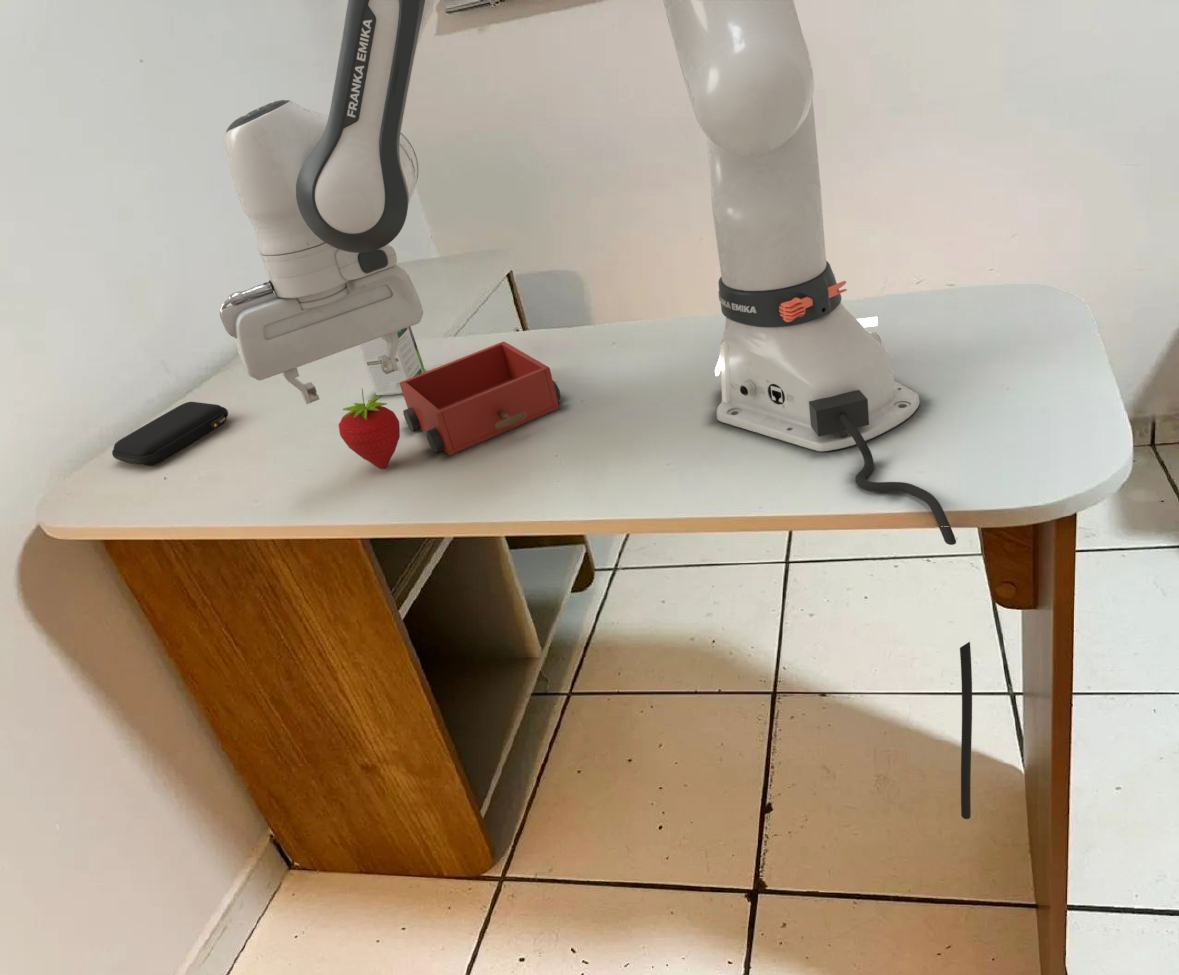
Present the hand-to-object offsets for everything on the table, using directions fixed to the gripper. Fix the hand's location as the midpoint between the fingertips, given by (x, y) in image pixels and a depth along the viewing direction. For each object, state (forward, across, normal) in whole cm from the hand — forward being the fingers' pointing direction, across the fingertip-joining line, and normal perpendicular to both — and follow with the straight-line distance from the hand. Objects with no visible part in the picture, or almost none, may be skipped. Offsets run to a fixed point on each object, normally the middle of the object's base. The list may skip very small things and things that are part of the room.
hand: (351, 385), depth 106 cm
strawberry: (+11, 0, 0) cm, 11 cm away
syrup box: (+11, +10, +22) cm, 26 cm away
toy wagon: (+11, +15, +1) cm, 18 cm away
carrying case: (+11, -20, +33) cm, 40 cm away
